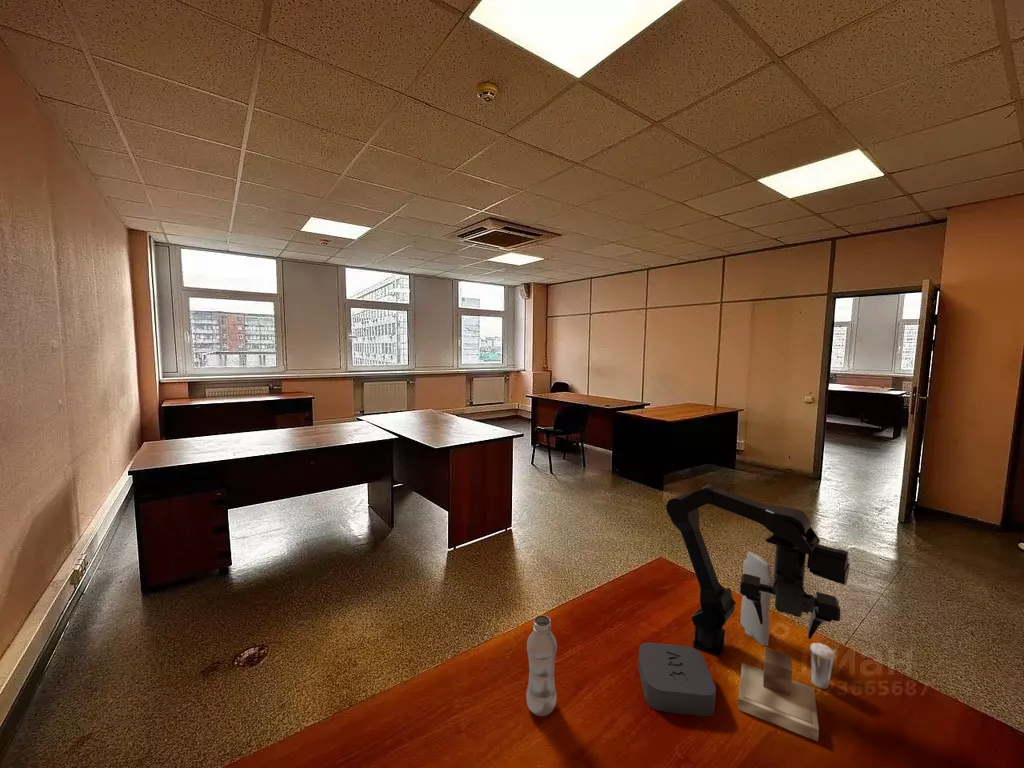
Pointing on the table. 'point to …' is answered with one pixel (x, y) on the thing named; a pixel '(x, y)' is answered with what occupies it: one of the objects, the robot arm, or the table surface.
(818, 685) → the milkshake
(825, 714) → the table surface
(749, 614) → the grey ridged slab
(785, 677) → the walnut block
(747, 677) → the base
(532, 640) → the plastic bottle
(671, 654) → the streaming box
